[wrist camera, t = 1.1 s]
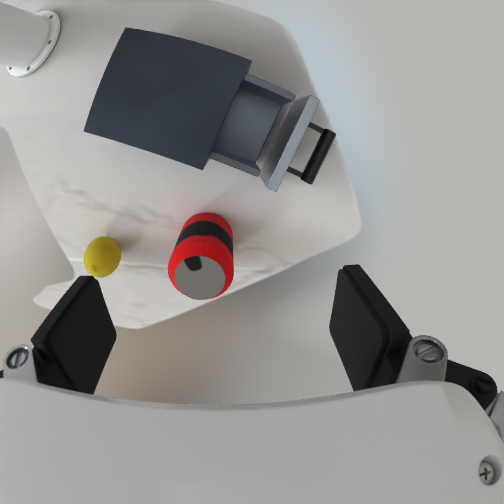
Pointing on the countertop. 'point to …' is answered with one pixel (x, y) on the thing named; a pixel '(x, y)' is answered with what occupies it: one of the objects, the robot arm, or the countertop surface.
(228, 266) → the soda can
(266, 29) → the countertop surface
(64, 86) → the countertop surface
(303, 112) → the drawer
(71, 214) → the countertop surface
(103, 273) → the lemon
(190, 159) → the cabinet
